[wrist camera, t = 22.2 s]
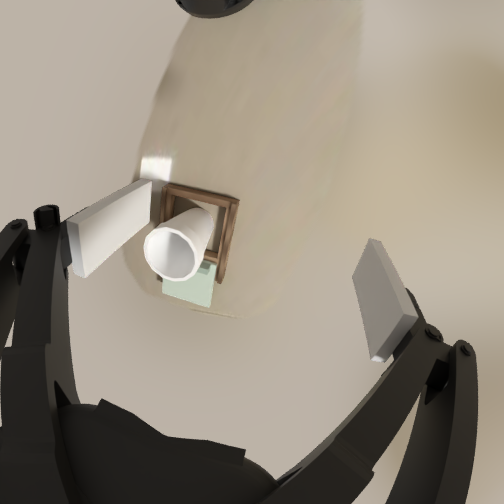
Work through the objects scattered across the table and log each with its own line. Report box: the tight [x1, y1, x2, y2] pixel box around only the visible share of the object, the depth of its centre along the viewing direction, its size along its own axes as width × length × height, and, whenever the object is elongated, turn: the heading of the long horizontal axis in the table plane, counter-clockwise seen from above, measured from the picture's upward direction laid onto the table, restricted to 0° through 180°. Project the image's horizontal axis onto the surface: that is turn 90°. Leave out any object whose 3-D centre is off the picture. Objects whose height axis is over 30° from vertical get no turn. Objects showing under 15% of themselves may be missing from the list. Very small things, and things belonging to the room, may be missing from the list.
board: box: [159, 184, 240, 284], centre depth 51 cm, size 17×14×3 cm
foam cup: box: [144, 208, 214, 282], centre depth 46 cm, size 10×9×13 cm
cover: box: [162, 260, 217, 308], centre depth 54 cm, size 11×11×3 cm
